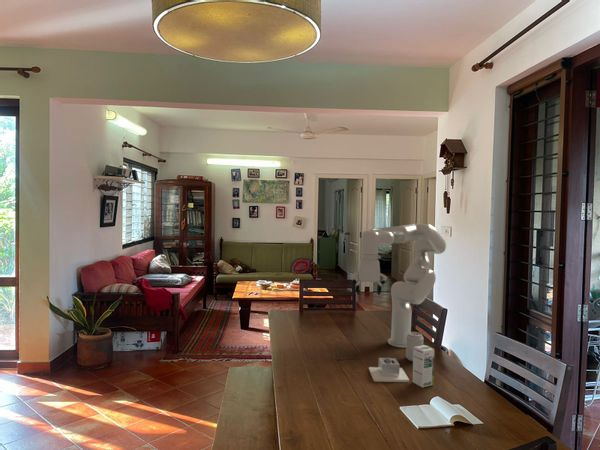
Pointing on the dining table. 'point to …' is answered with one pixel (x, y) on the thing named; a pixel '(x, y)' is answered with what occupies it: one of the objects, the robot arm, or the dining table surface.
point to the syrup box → (423, 366)
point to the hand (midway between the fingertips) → (368, 293)
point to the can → (413, 343)
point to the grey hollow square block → (388, 368)
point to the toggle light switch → (379, 378)
